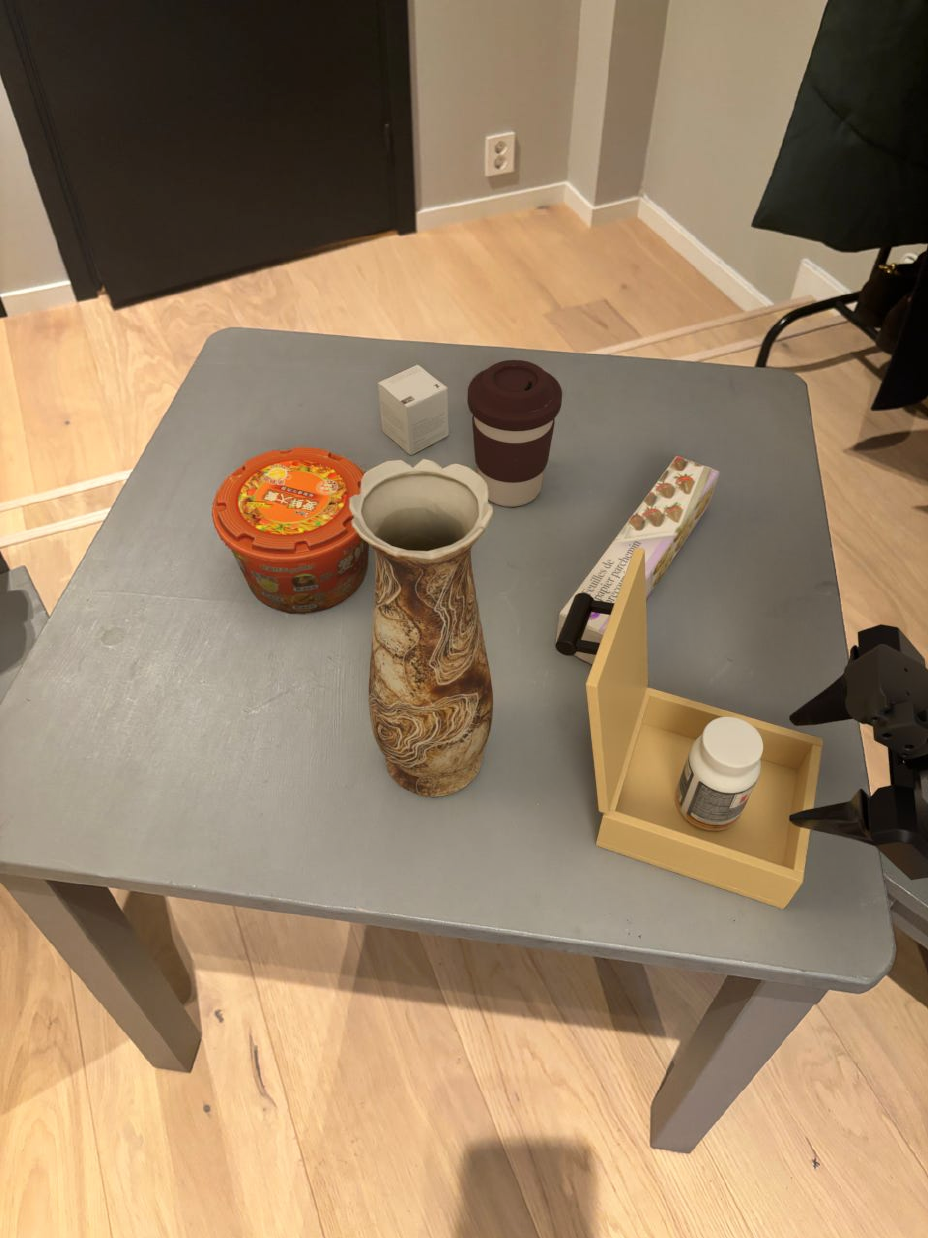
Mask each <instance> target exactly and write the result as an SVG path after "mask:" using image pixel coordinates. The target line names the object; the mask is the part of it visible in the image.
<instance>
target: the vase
mask: <svg viewBox="0 0 928 1238" xmlns="http://www.w3.org/2000/svg"><path fill="white" fill-rule="evenodd" d="M364 473H365V474H364V475H363V477H362V479H361V487H360V494H359V495H354V496H352V497H350V498H349V509H350V511H351V513H352V515H353V517H354V518H353V519H352V521H351V525H352V527H353V528H354V530H355V531H356V533H357V534H358V535H359V536H360V537H361V538H362V539H363V540H365V541H366V542H367V543H368V544H369V546H371V547H372V549H374V557H375V580H374V581H375V583H374V607H373V619H372V620H373V621H372V633H371V652H370V663H369V678H368V709H369V719H370V724H371V729H372V734H373V737H374V739H375V742H376V744H377V746H378V748H379V750H380V752H381V753H382V755H383V756H384V759H385V766H386V769H387V771H388V774H389V775H390V777H391V778H392V780H393V781H394V782H395V783H396V784H397V785H398V786H400V787H401V788H403V789H404V790H406V791H408V792H411V793H414V794H416V795H419V796H424V797H430V798H431V797H443V796H444V797H445V796H449V795H452V794H454V793H456V792H459V791H461V790H462V789H464V788H465V787H467V786H468V785H469V784H470V783H472V781H473V780H474V779H475V778H476V777H477V775H478V773H479V772H480V769H481V766H482V763H483V758H484V750H485V747H486V746H487V743H488V740H489V737H490V734H491V729H492V724H493V714H494V713H493V712H494V690H493V682H492V675H491V670H490V664H489V658H488V653H487V647H486V643H485V638H484V632H483V625H482V620H481V616H480V610H479V604H478V598H477V592H476V585H475V579H474V573H473V565H472V548H473V546H474V545H475V544H476V543H477V541H478V540H479V539H480V538H481V537H482V535H483V534H484V533H485V531H487V527H488V526H489V524H490V521H491V519H492V518H493V515H494V505H493V504H492V503H491V504H490V503H489V502H490V501H489V500H488V498H489V494H490V492H489V487H488V484H487V483H486V481H485V480H484V479H483V478H482V476H481V475H480V474H478V471H475V470H474V469H473V468H471V467H469V466H466V465H463V464H460V463H451V464H449V465H447V466H445V467H443V466H441V465H440V464H439V463H438V462H436V461H435V460H432V459H426V458H422V459H421V460H420V461H419V462H418V463H416V464H415V465H414V466H412V465H410V464H408V463H407V462H406V461H404V460H402V459H393V460H387V461H384V462H382V463H380V464H378V465H376V466H375V465H374V467H371V468H370V469H368V470H367V471H366V472H364Z"/></svg>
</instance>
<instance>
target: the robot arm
mask: <svg viewBox="0 0 928 1238" xmlns="http://www.w3.org/2000/svg"><path fill="white" fill-rule="evenodd" d="M788 720H789V722H790V723H791V724H792V725H793V726H796V727H802V726H816V725H817V726H819V725H824V724H829V723H836V722H837V723H838V722H843V721H849V720H854V721H856V722H857V723H859V724H861V725H868V726H870V727H872V735H873V736H872V738H873V741H875V742H876V743H878V744H880V745H882V746H884V747H886V748H887V757H888V758H887V759H888V771H889V781H890V785H885V786H881V787H878V788H876V790H875V791H874V792H873V793H872V795H871V796H870V795H869V794H868V793H867V792H866V791H865V790H864V789H863V788H860V789H858V791H856V792H855V794H854V795H853V797H851V799H850V800H847V801H844V802H838V803H834V804H828V805H823V806H818V807H813V809H808V810H803V811H800V812H797V813H795V814H792V815H790V816H789V821H790V822H791V823H792V824H794V825H795V826H797V827H801V828H806V829H810V831H815V832H819V833H823V834H829V835H832V836H838V837H842V838H846V839H850V840H853V841H857V842H861V843H863V844H867V845H870V846H873V847H875V848H876V849H877V850H878V851H879V852H880V853H882V855H884V857H886V858H887V860H888V861H890V862H891V863H892V864H893V865H894V866H895V867H896V868H897V869H898V870H899V871H900V872H901V873H902V874H904V875H905V876H906V877H907V878H908V879H909V880H910V881H916V880H923V879H928V801H926V800H925V798H924V796H923V787H922V780H928V668H927V665H926V658H925V657H924V656H923V654H922V653H921V652H920V651H919V650H918V649H917V647H916V646H915V645H914V644H913V643H912V642H911V641H910V640H909V638H908V637H907V635H905V633H904V632H903V631H902V630H901V629H900V628H899V627H898V626H894V625H888V624H883V623H880V624H877V625H874V626H871V627H868V628H865V629H861V630H859V631H857V645H856V644H854V645H853V646H852V647H851V648H850V649H849V658H848V661H847V663H846V665H845V667H844V669H843V673H842V674H841V675H840V676H839V677H838V678H837V679H835V681H833V682H832V683H831V684H829V685H828V686H827V687H826V688H825V689H823V690H822V691H821V692H819V693H818V694H816V695H815V696H814V697H813V698H811V699H809V700H808V701H807V702H806V703H804V704H803V705H802V706H800V707H799V708H798V709H796V710H795V711H793V712H792V713H791V714H790V715H789V718H788Z"/></svg>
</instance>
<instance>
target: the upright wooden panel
mask: <svg viewBox="0 0 928 1238" xmlns="http://www.w3.org/2000/svg"><path fill="white" fill-rule="evenodd" d="M591 612H593V613H600V614H606V615H610V618H609V621H608V623H607V626H606V629H605V632H604V635H603V637H602V640H601V643H598V642H592V641H586V640H581V639H582V636H583V634H584V631H585V628H586V626H587V623H588V620H589V618H590V615H591ZM647 619H648V618H647V599H646V577H645V549H643V548H634V551H633V554H632V557H631V559H630V562H629V565H628V568H627V570H626V573H625V576H624V579H623V582H622V584H621V587H620V590H619V593H618V596H617V598H616V601H615V603H610V602H604V601H597V600H594V599H593V597H592V596H590V595H589V594H586V593H578V594H576V595H575V597H574V599H573V602H572V604H571V607H570V609H569V612H568V614H567V617H566V619H565V622H564V624H563V627H562V629H561V632H560V634H559V637H558V639H557V642H556V641H555V642H556V645H555V644H554V646H555V650H556V651H557V652H558V653H559V654H561V655H564V656H568V657H572V656H575V655H574V654H575V653H576V652H581V653H587V654H592V655H596V657H595V660H594V662H593V665H592V664H591V665H592V666H591V667H590V671H589V674H588V676H587V679H586V682H585V690H586V698H587V699H586V700H587V709H588V719H589V720H588V721H589V728H590V729H589V730H590V739H591V749H592V759H593V767H594V777H595V778H594V779H595V786H596V796H597V806H598V812H600V813H602V814H604V813H607V814H608V813H609V810H610V807H611V804H612V800H613V797H614V794H615V790H616V787H617V784H618V781H619V777H620V774H621V771H622V767H623V764H624V761H625V758H626V754H627V751H628V748H629V744H630V741H631V738H632V735H633V731H634V728H635V725H636V721H637V718H638V715H639V712H640V708H641V705H642V702H643V698H644V695H645V692H646V689H647V687H648V685H649V669H648V666H649V665H648V661H649V660H648V628H647V625H648V624H647V622H648V621H647Z"/></svg>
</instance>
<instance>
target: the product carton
mask: <svg viewBox="0 0 928 1238" xmlns="http://www.w3.org/2000/svg"><path fill="white" fill-rule="evenodd" d="M377 390H378V399H379V409H380V418H381V419H380V420H381V430H382V432H383V433H384V434H385V435H386V436H387V437H388V438H390V439H391V440H392V441H393V442H394V443H395V444H397V445H398V446H399V447H400V448H401V449H402V450H403V451H405V453H407V454H408V455H409V456H412V455H415V454H416V453H419V452H420V451H422V450H424V449H426V448H428V447H430V446H431V445H433V444H435V443H438V442H440V441H441V440H443V439H445V438H447V437H449V436H450V430H449V427H450V426H449V388H448V386H447V385H445V384H443V383H442V382H441V381H439V380H438V379H437V378H436V377H434V376H433V375H431V374H430V373H429V372H428V371H427V370H426V369H424V368H423V367H422V366H420V365H419V364H416V365H414V366H412V367H410V368H407V369H405V370H402V371H401V372H399V373H396V374H394V375H391V376H390V377H388V378H385V379H383V380H381V381H379V382H377Z"/></svg>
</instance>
